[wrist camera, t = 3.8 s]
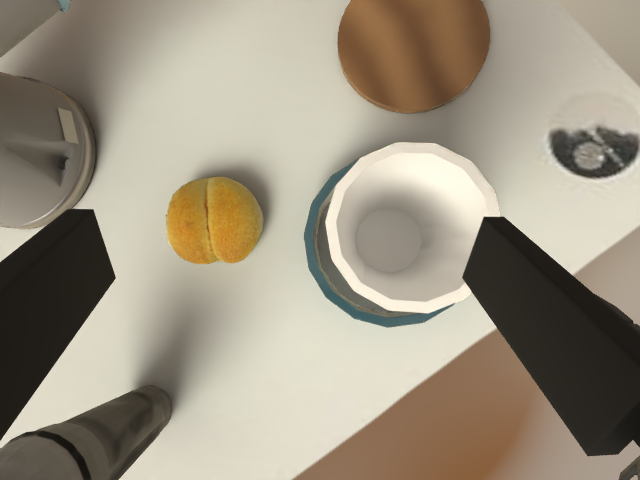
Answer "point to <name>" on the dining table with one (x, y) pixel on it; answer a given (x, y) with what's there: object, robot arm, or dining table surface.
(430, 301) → the foam cup
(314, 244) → the ring
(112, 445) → the beverage cup
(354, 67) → the wooden coaster
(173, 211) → the bread roll
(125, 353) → the dining table surface
